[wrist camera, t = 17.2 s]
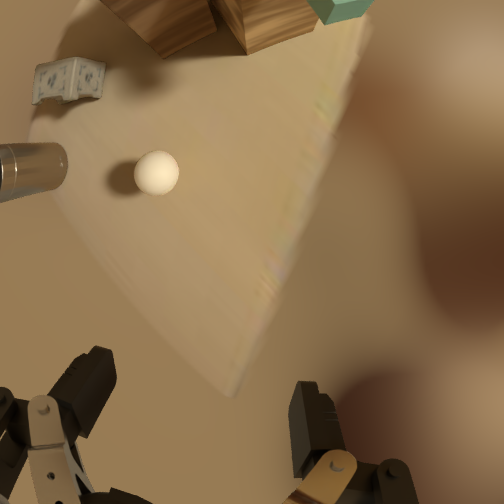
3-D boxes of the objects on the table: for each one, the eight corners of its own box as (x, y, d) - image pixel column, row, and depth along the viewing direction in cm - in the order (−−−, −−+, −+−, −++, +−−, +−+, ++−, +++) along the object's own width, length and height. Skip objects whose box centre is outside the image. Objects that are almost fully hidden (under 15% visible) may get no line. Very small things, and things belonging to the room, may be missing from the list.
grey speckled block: (61, 109, 39) (25, 104, 29) (69, 69, 37) (37, 58, 27) (100, 107, 40) (67, 98, 30) (110, 64, 37) (80, 47, 27)
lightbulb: (182, 195, 44) (160, 206, 34) (150, 181, 44) (120, 188, 33) (197, 160, 43) (178, 160, 32) (163, 146, 42) (136, 143, 31)
